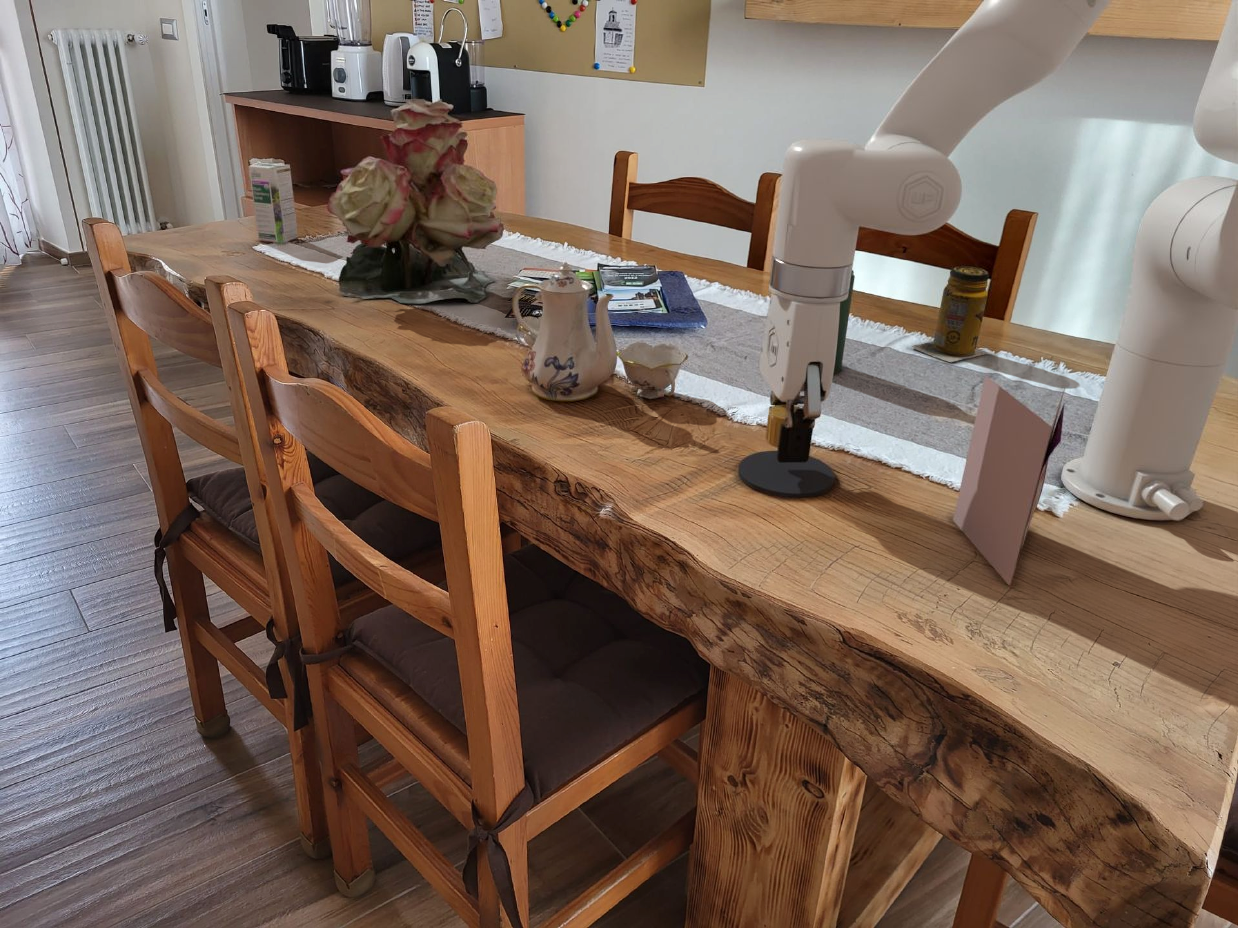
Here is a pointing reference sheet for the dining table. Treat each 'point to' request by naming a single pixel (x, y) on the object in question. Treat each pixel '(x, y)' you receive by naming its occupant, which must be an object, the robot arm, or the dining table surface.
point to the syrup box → (273, 202)
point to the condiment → (959, 316)
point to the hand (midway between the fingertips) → (786, 449)
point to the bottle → (843, 326)
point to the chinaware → (585, 346)
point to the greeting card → (1004, 475)
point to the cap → (776, 423)
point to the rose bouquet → (417, 213)
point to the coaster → (786, 476)
